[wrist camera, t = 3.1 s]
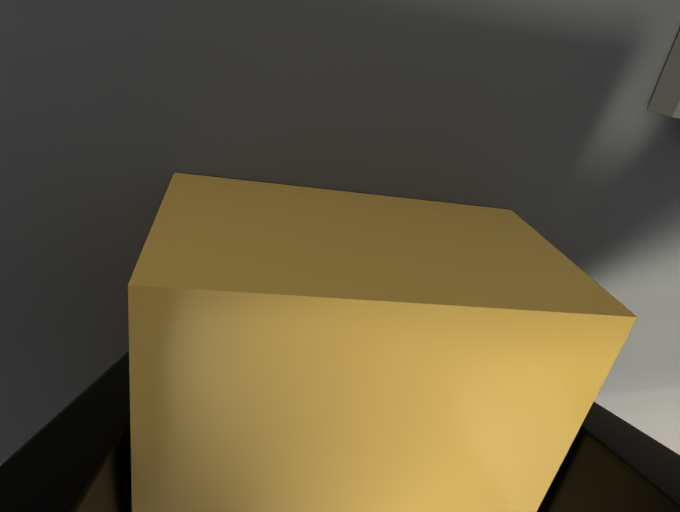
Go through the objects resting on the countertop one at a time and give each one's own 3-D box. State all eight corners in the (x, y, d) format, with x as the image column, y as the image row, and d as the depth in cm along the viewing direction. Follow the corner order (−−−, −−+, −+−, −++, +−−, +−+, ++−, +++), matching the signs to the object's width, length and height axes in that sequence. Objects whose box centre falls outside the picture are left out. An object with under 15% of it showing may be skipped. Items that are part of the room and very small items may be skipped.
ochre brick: (430, 441, 12) (492, 597, 9) (166, 441, 11) (133, 623, 8) (511, 210, 9) (637, 317, 6) (173, 172, 8) (128, 285, 5)
